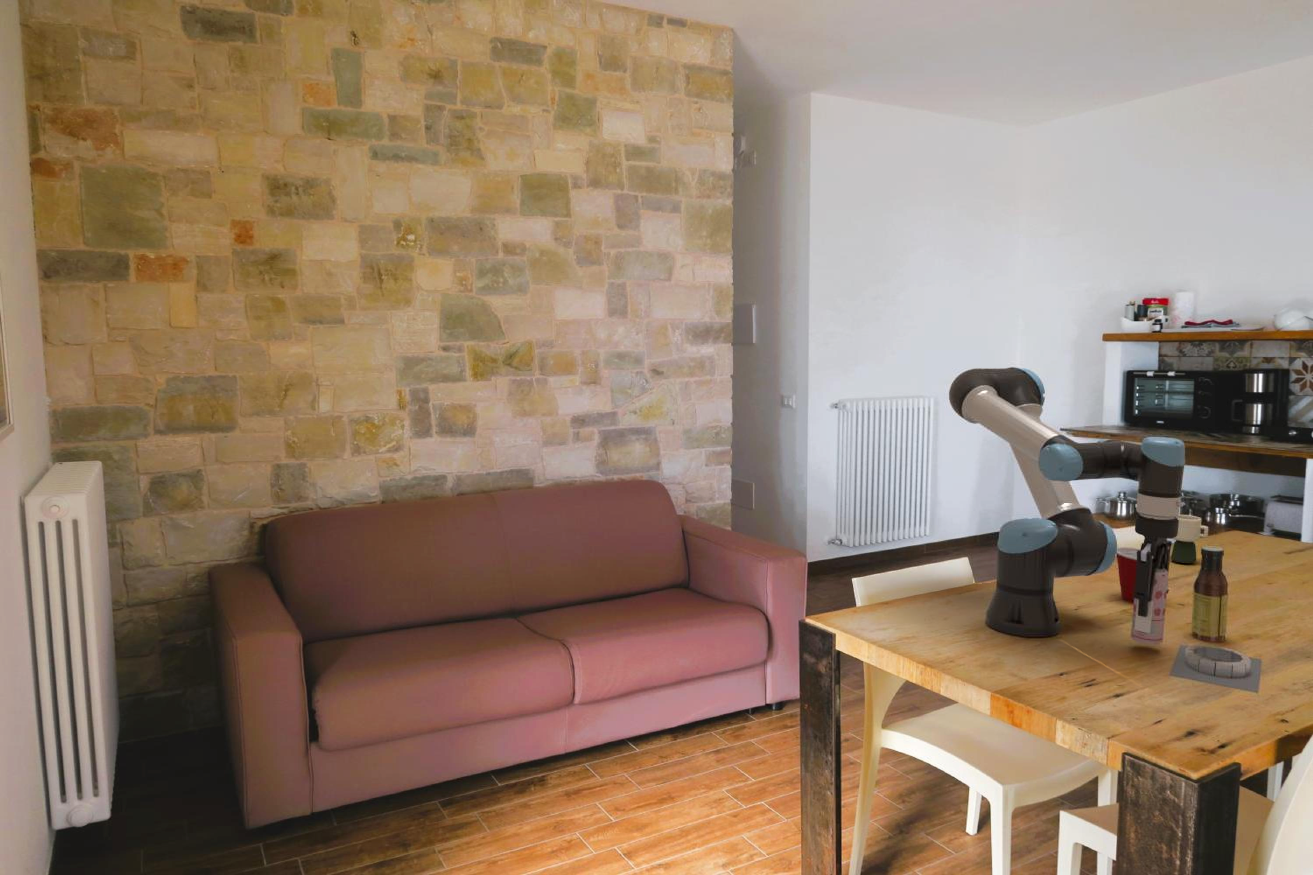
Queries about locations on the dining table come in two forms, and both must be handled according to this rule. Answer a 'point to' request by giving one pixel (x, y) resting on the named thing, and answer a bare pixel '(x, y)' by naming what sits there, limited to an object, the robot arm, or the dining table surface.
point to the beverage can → (1154, 612)
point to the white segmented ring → (1204, 661)
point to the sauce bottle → (1210, 597)
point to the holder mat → (1240, 683)
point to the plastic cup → (1127, 571)
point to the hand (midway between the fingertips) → (1147, 626)
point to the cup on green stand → (1187, 538)
